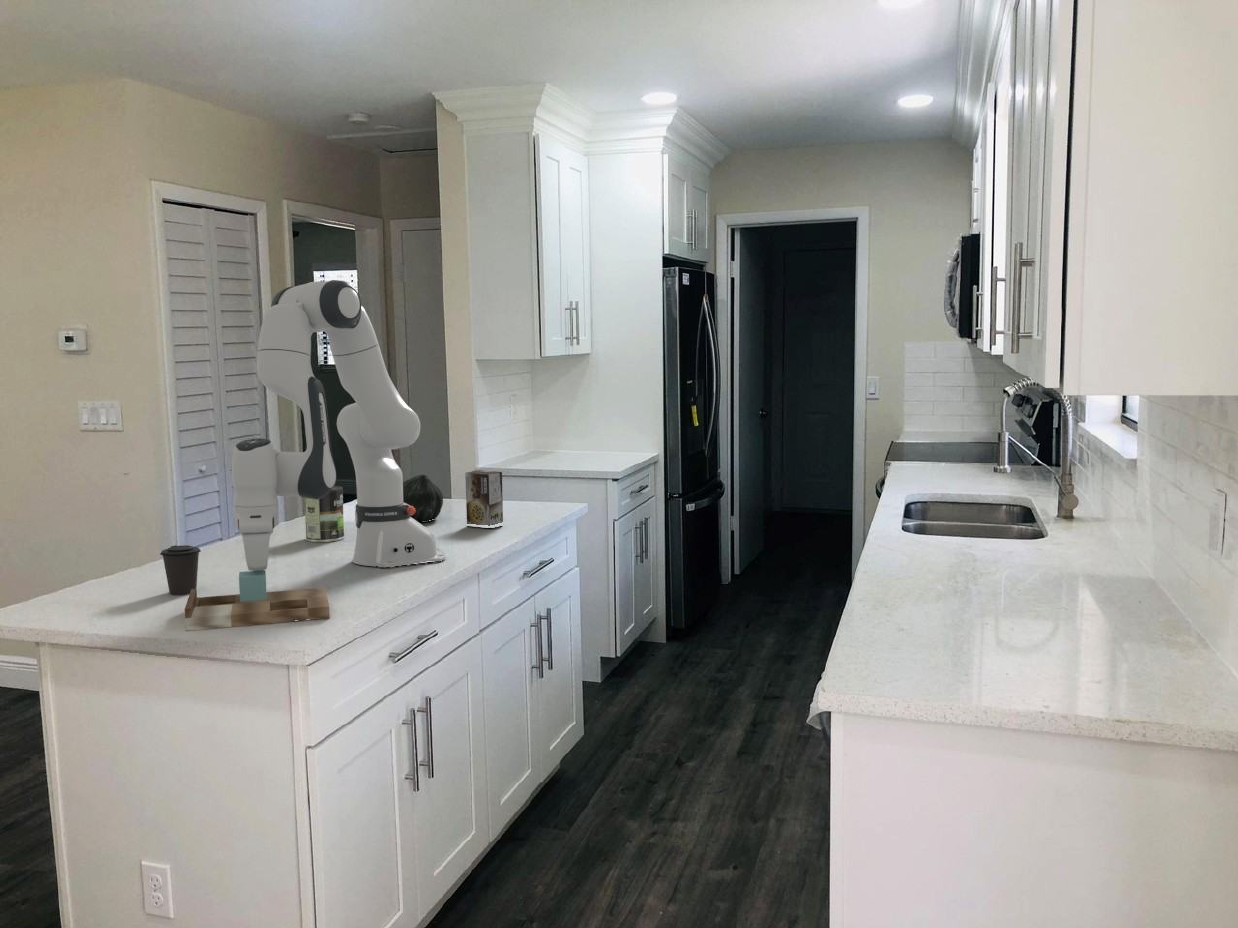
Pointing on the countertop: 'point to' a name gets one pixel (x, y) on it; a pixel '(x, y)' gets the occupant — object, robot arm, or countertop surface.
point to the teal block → (252, 585)
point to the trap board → (255, 609)
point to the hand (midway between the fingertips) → (259, 582)
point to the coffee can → (325, 517)
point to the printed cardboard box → (484, 497)
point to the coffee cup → (181, 568)
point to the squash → (423, 497)
